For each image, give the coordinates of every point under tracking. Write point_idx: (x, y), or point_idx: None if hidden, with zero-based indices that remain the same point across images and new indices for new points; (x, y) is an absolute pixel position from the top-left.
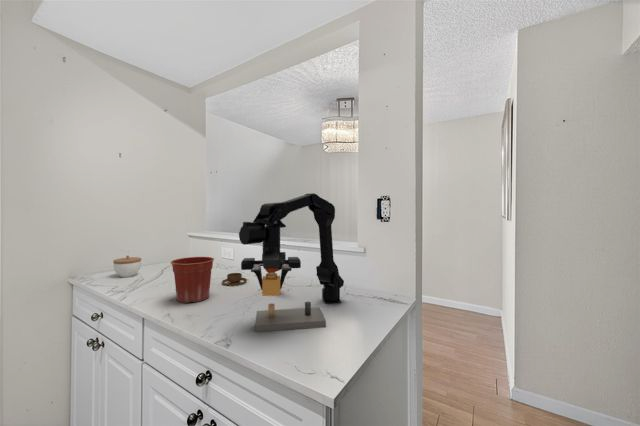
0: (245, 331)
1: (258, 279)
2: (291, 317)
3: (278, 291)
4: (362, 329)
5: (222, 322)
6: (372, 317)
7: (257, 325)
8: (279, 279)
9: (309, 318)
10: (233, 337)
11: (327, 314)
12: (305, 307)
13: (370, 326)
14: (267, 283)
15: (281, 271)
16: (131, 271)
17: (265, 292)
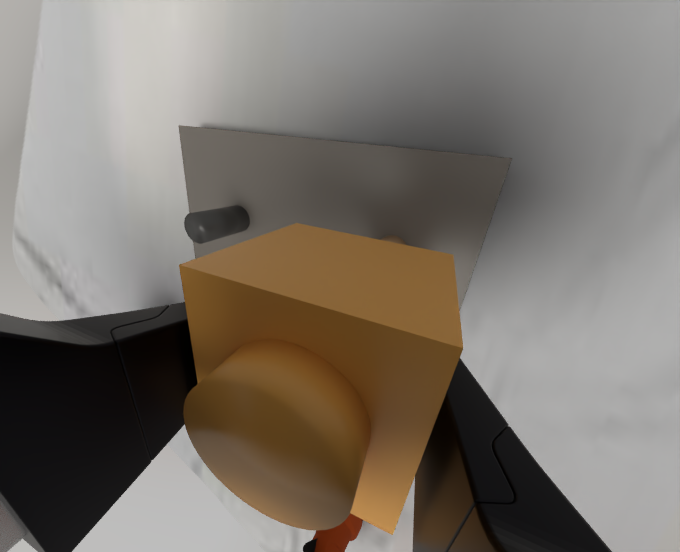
0: (554, 183)
1: (517, 443)
2: (304, 208)
3: (293, 232)
4: (96, 71)
5: (651, 343)
6: (77, 167)
7: (494, 157)
8: (188, 272)
9: (235, 170)
10: (662, 115)
11: (191, 242)
12: (223, 219)
13: (77, 92)
14: (377, 293)
15: (125, 452)
16: None
17: (419, 257)
